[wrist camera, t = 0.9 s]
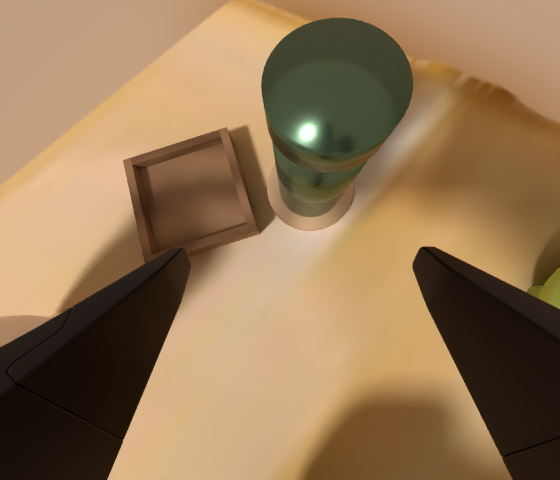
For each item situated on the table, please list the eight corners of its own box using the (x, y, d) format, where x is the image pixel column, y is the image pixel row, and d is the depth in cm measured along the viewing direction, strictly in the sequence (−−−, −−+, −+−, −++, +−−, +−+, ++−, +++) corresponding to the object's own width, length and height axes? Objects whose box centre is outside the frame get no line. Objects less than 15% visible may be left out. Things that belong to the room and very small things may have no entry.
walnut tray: (260, 233, 22) (257, 229, 20) (159, 265, 22) (145, 264, 20) (232, 140, 23) (226, 127, 21) (138, 170, 24) (123, 160, 21)
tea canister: (354, 174, 22) (438, 52, 9) (323, 230, 21) (369, 178, 9) (297, 146, 22) (306, -3, 10) (266, 199, 22) (234, 110, 9)
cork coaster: (367, 172, 22) (369, 170, 22) (327, 246, 21) (328, 245, 21) (293, 135, 23) (293, 133, 23) (252, 205, 22) (251, 203, 22)
